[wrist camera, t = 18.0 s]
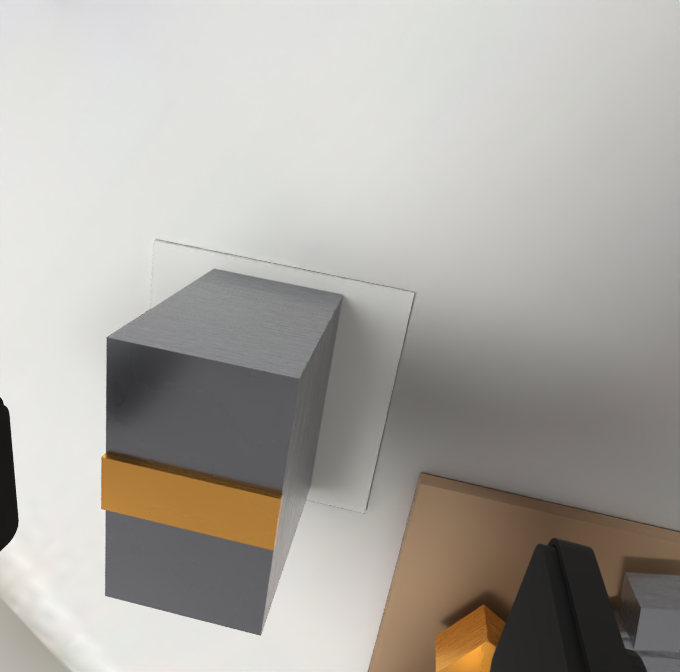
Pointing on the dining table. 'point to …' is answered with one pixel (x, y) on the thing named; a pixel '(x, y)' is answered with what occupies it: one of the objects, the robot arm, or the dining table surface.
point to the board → (493, 561)
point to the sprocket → (633, 617)
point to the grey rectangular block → (213, 443)
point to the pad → (346, 367)
